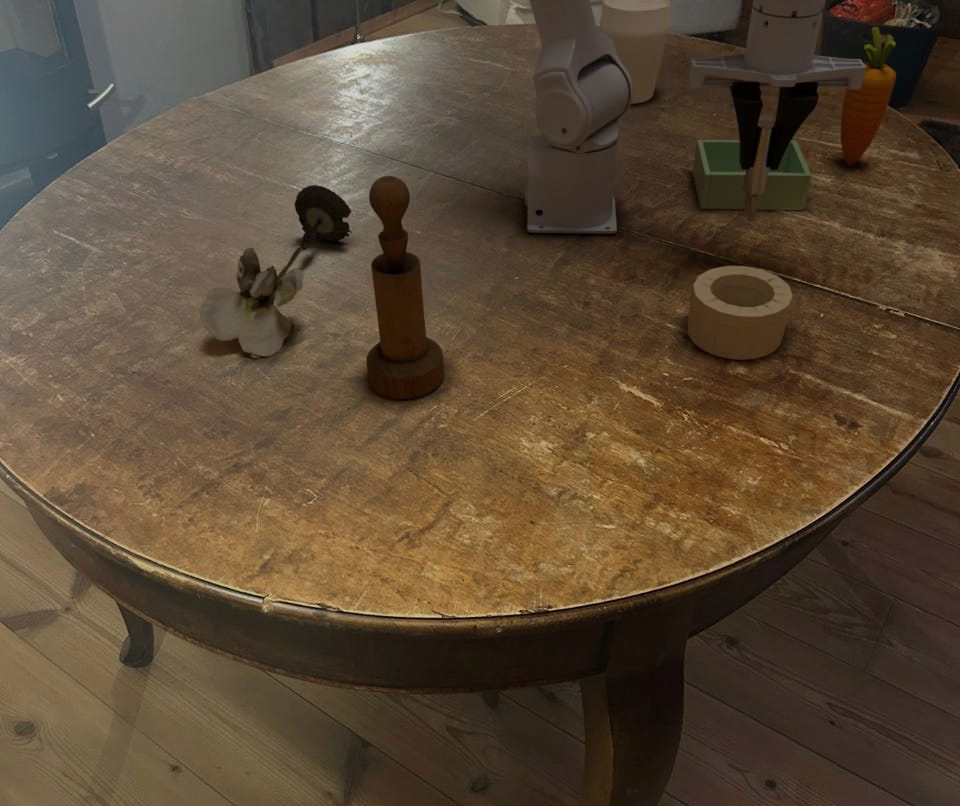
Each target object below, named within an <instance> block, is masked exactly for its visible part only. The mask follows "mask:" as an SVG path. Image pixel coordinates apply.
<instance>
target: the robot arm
mask: <svg viewBox="0 0 960 806" xmlns="http://www.w3.org/2000/svg"><path fill="white" fill-rule="evenodd" d="M528 1H529V3H530V7H531V11H532V13H533V18H534V22H535V26H536V29H537V32H538V37H539V40H540V44H541V51H540V54H539V57H538V60H537V63H536V65H535V68H534V70H533V75H532V81H533V84H534V89H535V95H536V96H535V98H536V99H535V108H534V110H535V111H534V112H535V120H536V123H537V127H538V129H539V131H540V133H541V134H539V135H532V136H529V139H528V141H529V142H528V157H527V158H528V159H527V161H528V162H527V165H528V166H527V188H525V189H524V190H525V191H524V205H525V207H527V220H526V221H527V225H526V226H527V227H526V231H527V232H528V233H531V234H532V233H533V234H590V235H591V234H592V235H593V234H595V235H599V234H600V235H605V234H606V235H614V234H616V233H617V231H618V227H617V226H618V225H617V213H616V199H615V198H614V192H615V181H616V180H615V179H616V171H617V170H616V169H617V158H618V157H617V156H618V145H619V144H618V143H619V129H620V119H621V117H622V116H624V115H625V114H626V113H627V112H628V110H629V108H630V107H631V105H632V104H631V102H632V98H633V84H632V80H631V77H630V75H629V73H628V71H627V70H626V68H625V67H624V66H623V65H622V63H621V62H620V60H619V58H618V56H617V53H616V49H615V45H614V42H613V41H612V40H611V39H610V38H609V37H607V36H606V35H605V34H604V33H602V32H601V31H600V28H598V27H597V24H596V20H595V16H594V12H593V8H592V7H593V6H592V3H591V0H528ZM826 1H827V0H753V1H752V8H751V15H750V19H749V26H748V32H747V39H746V44H745V50H744V53H737V54H728V55H720V56H713V57H711V56H710V57H692V58H691V60H690V68H689V75H688V83H689V87H690V89H703V88H704V87H705V86H707V87H729V91H730V94H731V98H732V102H733V106H734V111H735V116H736V122H737V129H738V137H739V139H738V140H740V158H739V162H740V165H741V169H744V170H750V166H751V162H752V155H753V146H754V138H755V133H756V129H757V125H758V121H759V120H760V118H761V113H762V110H763V107H764V103H763V100H762V90H761V88H760V87H774V88H779V93H778V99H777V100H778V101H777V108H776V115H775V120H774V122H776V123H777V125H778V126H777V131H776V136H775V141H774V146H773V151H772V155H771V160H770V165H769V168H770V170H778V168H779V165H780V162H781V160H782V158H783V155H784V153H785V151H786V149H787V147H788V145H789V144H790V142H791V140H793V138H794V137H795V135H796V133H797V132H798V131H799V129H800V127H801V126H802V125H803V123H804V122H805V121H806V120H807V118H808V117H809V116H810V115H811V113H813V112H814V110H815V109H816V107H817V105H818V102H819V98H820V95H819V94H818V88H820V87H821V88H824V87H825V88H826V87H827V88H829V87H830V88H844V87H845V88H847V89H849V90H860V89H861V85H862V81H863V77H864V73H865V69H866V67H865V65H864V64H863V63H864V62H863V61H862V59H861V58H860V59H859V58H844V57H843V58H842V57H835V56H826V55H815V53H816V48H817V47H816V46H817V43H818V37H819V34H820V28H821V25H822V19H823V14H824V10H825V5H826Z"/></svg>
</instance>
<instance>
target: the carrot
mask: <svg viewBox="0 0 960 806" xmlns="http://www.w3.org/2000/svg"><path fill="white" fill-rule="evenodd" d="M870 31H871V38H872V42H873V45H872V44H871V43H870V44H869V43H868V44H865V45H863V49H864V50H865V53H866V55H867V57H868V59H869V61H870V62H863V64H864V65H865V67H866V69H865V73H864V77H863V81H862V85H861V89H860V90H849V89H847V87H845V88H846V89H845V92H844V98H843V104H842V108H841V116H840V117H841V119H840V143H841V150H842V151H841V152H842V155H843V157H844V161H845V163H846V164H847V166H848V167H852V166H854V165H855V164H856V163H857V162H858V161H859V159H860V158H861V157H862V156H863V155H864V153H865V152H866V151H867V150H868V148H869V147H870V145H871V143H872V142H873V141H874V138H875V136H876V134H877V132H878V131H879V129H880V126H881V124H882V122H883V119H884V117H885V116H886V112H887V110H888V107H889V103H890V100H891V97H892V93H893V90H894V87H895V84H896V79H897V72H895V70H894V69H893V68H891V67H890V66H888V64H885V61H886V60H887V58H888V57H889V55H890V54H891V52H892V50H893V49H894V48H895V47H896V45H897V43H896V41H894V40H893V39H894V37H893V36H892V35H891V34H886V35H885V39H884V44H883V47H882V37H881V32H880V27H878V26H874V27H872V28H871V29H870ZM882 48H883V49H882Z"/></svg>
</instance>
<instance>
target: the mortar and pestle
mask: <svg viewBox="0 0 960 806" xmlns="http://www.w3.org/2000/svg"><path fill="white" fill-rule="evenodd" d="M368 201H369V205H370V208H372V210H373V212H374V213H375V214H376V216H377V217H378V218H379V220H380V221H381V225H382V226H383V228H382V229H383V230H382V231H381V232H379V234H378V235H377V239H378V243H379V245H380V248H381V250H382V253H381V254H379V255H377V256H374V258H373V259H372V260H371V264H370V267H371V268H370V269H371V277H372V284H373V292H374V301H375V309H376V317H377V326H378V335H379V342H378V343H376V344H375V345H374V346H372V347H371V349H370V350H369V351H368V352H367V355H366V368H367V377H368V383H369V385H370V387H371V389H372V390H373V391H374V392H375V393H377V394H379V395H380V396H383V397H386V398H390V399H395V400H409V399H416V398H419V397H423V396H426V395H427V394H429V393H431V392H432V391H434V390H436V389H437V388H438V387H439V386H440V385H441V384H442V383H443V380H444V378H445V363H444V352H443V350H442V347H441V346H440V344H439V343H438V342H436V341H435V340H433V339H432V338H429V337H427V329H426V320H425V319H426V318H425V308H424V296H423V283H422V282H423V281H422V270H421V269H422V268H421V259H420V258H419V257H418V256H417V255H415V254H414V253H411V252H408V251H407V249H408V243H409V234H408V232H407V230H405V229H404V228H403V224H402V220H403V218H404V216H405V215H406V213H407V210H408V208H409V205H410V201H411V196H410V191H409V188H408V186H407V184H406V183H405V182H404V181H403V180H402V179H401V178H399V177H397V176H393V175H385V176H384V175H383V176H381V177H379V178H377V179H376V180H375V181H374V182H373V183H372V184H371V187H370V188H369V193H368Z"/></svg>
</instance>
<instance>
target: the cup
mask: <svg viewBox="0 0 960 806" xmlns="http://www.w3.org/2000/svg"><path fill="white" fill-rule="evenodd" d="M671 2H672V1H671V0H602V5H601V12H600V13H601V14H600V20H599V30H600V31H601V32H602V33H604V34H605V35H606V36H607V37H609V38H610V39H611V40H612V41H613V42H614V45H615V49H616V53H617V56H618V58H619V60H620V62H621V63H622V65H623V66H624V67H625V68H626V70H627V71H628V73H629V75H630V77H631V80H632V84H633V98H632V102H631V105H634V104H635V105H636V104H641V103H646V102H647V101H649V100H650V99H652V98H653V96H654V93H655V89H656V85H657V84H656V83H657V79H658V76H659V72H660V68H661V65H662V59H663V54H664V51H665V48H666V43H667V38H668V35H669V29H670V26H671V25H670V23H671V22H670V21H671V19H670V17H671Z"/></svg>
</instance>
